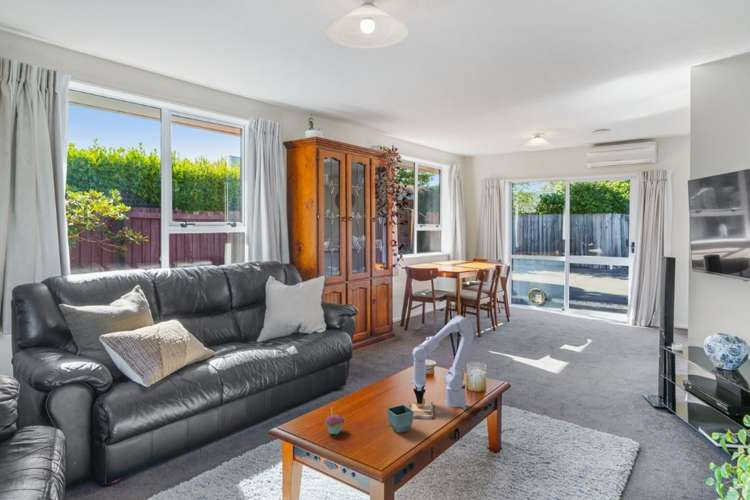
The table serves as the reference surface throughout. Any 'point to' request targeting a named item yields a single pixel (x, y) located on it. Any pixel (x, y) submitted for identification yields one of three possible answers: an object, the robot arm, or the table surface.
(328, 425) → the cupcake
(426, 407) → the lane
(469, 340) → the robot arm
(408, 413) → the flower pot
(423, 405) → the ball
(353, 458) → the table surface
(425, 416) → the rails
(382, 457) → the table surface
